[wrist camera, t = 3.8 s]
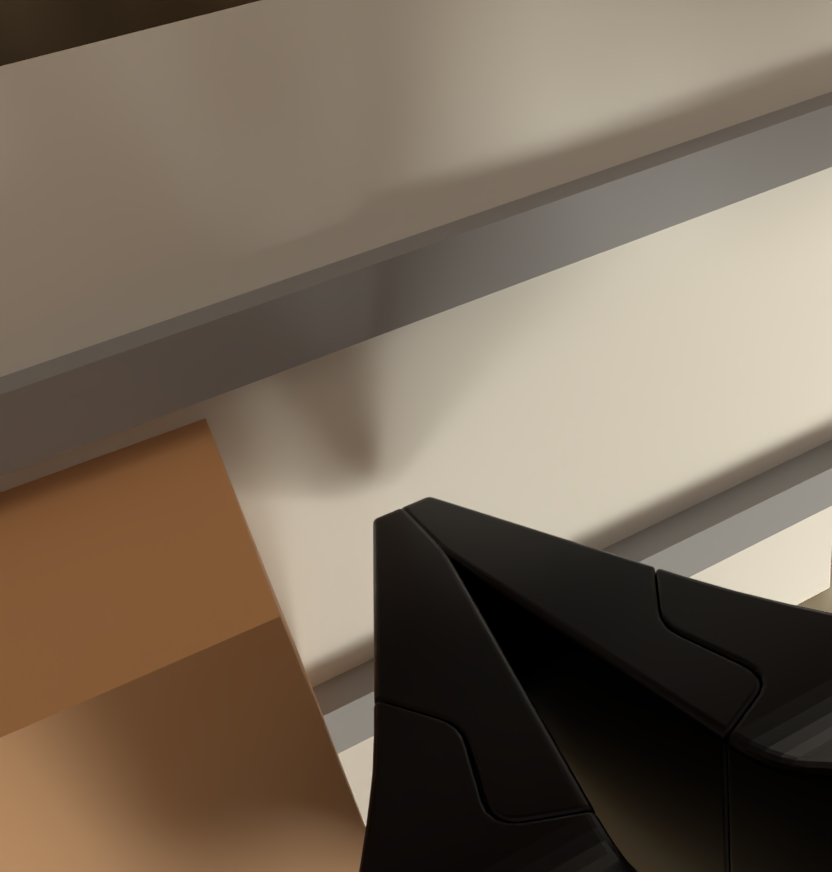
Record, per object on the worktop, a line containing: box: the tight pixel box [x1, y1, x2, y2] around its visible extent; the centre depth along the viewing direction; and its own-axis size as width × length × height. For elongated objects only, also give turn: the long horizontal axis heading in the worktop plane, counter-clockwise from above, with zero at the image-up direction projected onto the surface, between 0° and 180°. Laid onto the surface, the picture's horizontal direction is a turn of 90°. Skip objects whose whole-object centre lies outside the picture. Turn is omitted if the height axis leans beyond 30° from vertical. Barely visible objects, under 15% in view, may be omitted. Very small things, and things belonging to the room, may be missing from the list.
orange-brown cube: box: [0, 418, 366, 872], centre depth 8 cm, size 4×4×4 cm
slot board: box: [0, 0, 832, 826], centre depth 11 cm, size 12×19×4 cm, turn 104°
